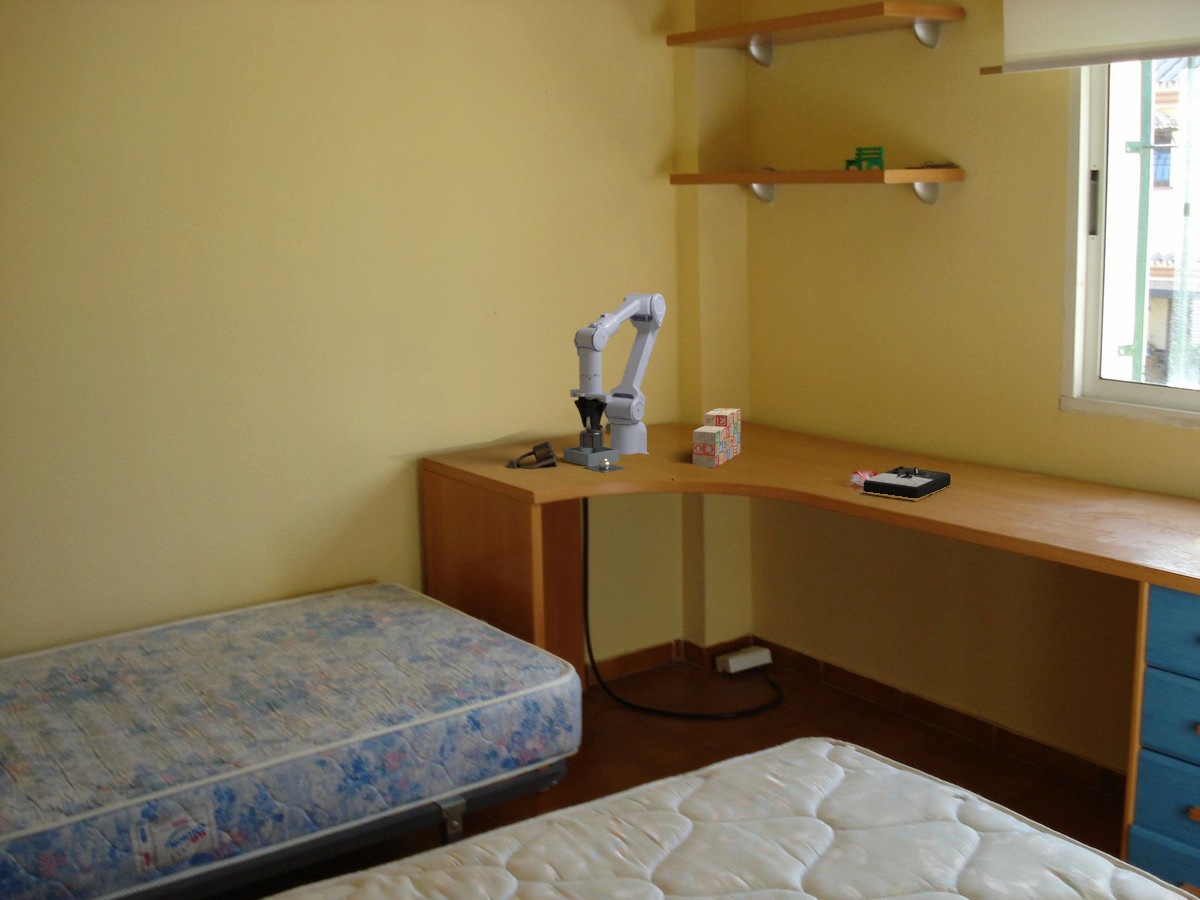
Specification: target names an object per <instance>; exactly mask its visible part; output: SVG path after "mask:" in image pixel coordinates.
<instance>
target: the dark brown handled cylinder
mask: <svg viewBox="0 0 1200 900" xmlns="http://www.w3.org/2000/svg"><path fill="white" fill-rule="evenodd" d="M531 456H534V458H535V462H536V463H534V464H529V465H528V464H527V465H525V464H521V463H520V462H521V461H522V460H524V459H525V458H527V457H531ZM507 467H508V468H509V469H512V470H513V469H514V470H518V468H521V469H526V470H527V469H528V470H531V469H535V468H547V467H548V468H549V467H555V468H556V467H559V465H558V457H557V454H556V451H555V448H554V445H553V444H552V442H551V441H546V442H542V443H540V444H536V445H533V446H532V451H528V452H526V453H524V454H522V455H521V456H520V457H519V456H518V458H517V460H516V461H514V460H513V459H510V460H509V461H508V463H507Z"/></svg>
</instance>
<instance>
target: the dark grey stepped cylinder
mask: <svg viewBox="0 0 1200 900" xmlns="http://www.w3.org/2000/svg"><path fill="white" fill-rule="evenodd" d="M604 436H605V435H604V431H603V430H598V428H597V429H591V426H590V416H586V427H585V429H583V430H581V431H579V437H578V438H579V441H578V442H579V446H580V447H583V448H600V447H602V446H605V445H604Z"/></svg>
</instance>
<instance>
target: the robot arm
mask: <svg viewBox="0 0 1200 900" xmlns="http://www.w3.org/2000/svg"><path fill="white" fill-rule="evenodd" d="M666 310H667V305H666V301H665V298H664V296H663V295H662V294H661V293H660V292H659V293H643V292H642V293H638V292H633V291H631V292H629V293H628V294H626V295H625V296H624V297H623V301H622V303H621V304H620V305H618V307H616V309H614V310H613V311H612V312H611V313H610V312H602V313H601V314H600V317H598V318H597V319H595V321H592V322H590V324H589V325H588V326H586V327H580V328H579V329H577V330H576V333H575V335H574V339H573V342H574V346H575V348H576V354H577V357H578V361H579V362H578V363H579V364H578V370H579V371H578V373H579V374H578V375H579V377H578V379H579V383H578V384H579V388H572V389H570V393H569V395H570V398H578V399H576V400H574V402H573V403H574V405H575V407H576V408H577V410H578V413H579V416H580V419H581V424H582V427H583V428H586V416H590V426H591V429H597V430H598V429H600V425H601V421H602V416H603V415H604V416H605V419H607V423H610V425H609V426H610V434H609V435H610V447H611V448H615V449H619V455H622V456H623V455H634V454H637V453H640V454H645V455H649V454H650V453H649V452H648V451H647V450H648V448H647V447H648V446H647V444H648V438H647V435H648V432H647V431H648V430H647V427H646V425H645V424H644V422H643V421H641V420H642V419H643V417H644V415H645V404H646V401H647V398H646V397H645V394H644V393H643V392H642V391H641V386H642V384H643V381H644V377H645V375H646V372H647V368H648V365H649V362H650V360H651V359H650V358H651V355H652V353H653V349H654V346H655V344H656V340H657V338H658V337H657V336H658V334H659V329H660V328H661V327H662V324H663V320H664V317H665V314H666ZM627 320H629V321H630V324H631V326H632V327H634V328H635V329H636V331H637V332H636V335H635V337H634V340H633V341H634V342H633V344H632V347H631V350H630V353H629V357H628V360H627V363H626V365H625V368H624V369H625V370H624V372H623V376H622V377H621V381H620V383H619V384H618V385H617V386H615V387H613V388H612V389H611V390H610V392H609V393H608V392H604V391H603V371H602V370H603V368H602V367H603V363H602V362H603V361H602V360H603V359H602V358H603V357H602V356H603V354H602V353H603V350H604V349H605V348H606V346H607V342H608V341H609V339H610V338H611V337H613V336H614V335H615V334H617V333H618V332H619V331H620V326H621V324H622V323H624V322H626V321H627Z"/></svg>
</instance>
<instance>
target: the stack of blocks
mask: <svg viewBox="0 0 1200 900" xmlns="http://www.w3.org/2000/svg"><path fill="white" fill-rule="evenodd" d="M741 419H742V408H729V407H718V408H714V409H712V410H710V411H708V412H706V413H704V426H701V427H698V428H696V429H695V430H693V431H692V432H693V433H692V437H693V439H692V441H693V442H692V465H694V466H695V465H696V466H700V467H704V468H711V469H712V468H713V469H715V468H717V467H719V466H721V465H722V464H724V463H726V462H727V460H728V461H729V460H731V459H732V457H733V458H735V457H736V455H737V456H738V455H740V454H741V429H742V421H741ZM739 453H740V454H739ZM734 456H735V457H734Z"/></svg>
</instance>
